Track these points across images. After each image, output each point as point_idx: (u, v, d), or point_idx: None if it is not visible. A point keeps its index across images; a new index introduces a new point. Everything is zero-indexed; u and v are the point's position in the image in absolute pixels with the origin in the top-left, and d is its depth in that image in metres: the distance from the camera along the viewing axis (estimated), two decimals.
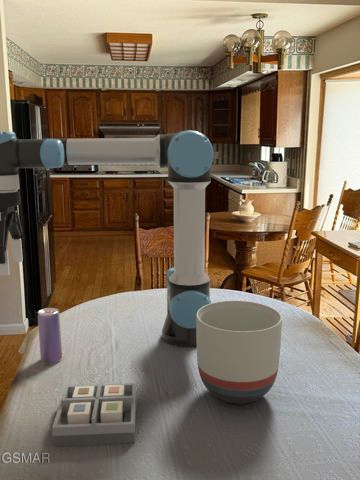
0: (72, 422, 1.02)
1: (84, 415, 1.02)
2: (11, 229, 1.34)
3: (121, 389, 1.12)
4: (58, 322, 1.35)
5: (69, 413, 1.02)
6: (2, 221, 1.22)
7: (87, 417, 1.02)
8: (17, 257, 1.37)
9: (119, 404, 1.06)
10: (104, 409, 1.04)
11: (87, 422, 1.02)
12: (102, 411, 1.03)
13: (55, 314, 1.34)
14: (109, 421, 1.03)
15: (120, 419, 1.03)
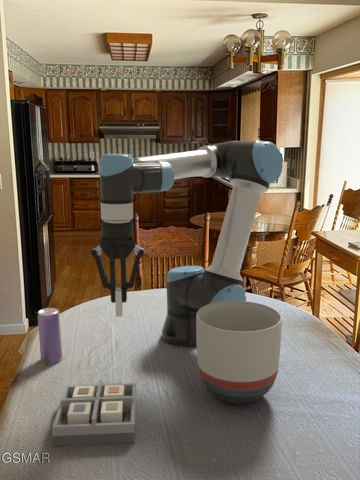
0: (72, 422, 1.02)
1: (84, 415, 1.02)
2: None
3: (121, 389, 1.12)
4: (58, 322, 1.35)
5: (69, 413, 1.02)
6: None
7: (87, 417, 1.02)
8: None
9: (119, 404, 1.06)
10: (104, 409, 1.04)
11: (87, 422, 1.02)
12: (102, 411, 1.03)
13: (55, 314, 1.34)
14: (109, 421, 1.03)
15: (120, 419, 1.03)
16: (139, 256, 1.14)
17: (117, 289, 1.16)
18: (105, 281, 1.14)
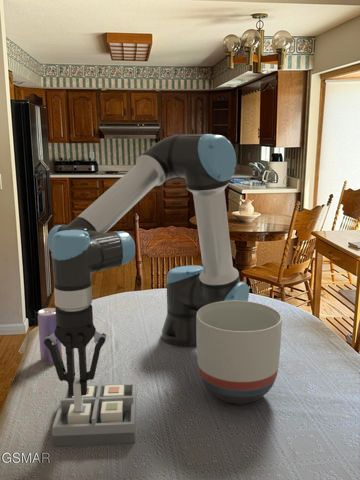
0: (72, 423, 1.02)
1: (85, 416, 1.02)
2: None
3: (121, 389, 1.12)
4: None
5: (69, 414, 1.02)
6: None
7: (87, 418, 1.02)
8: None
9: (119, 404, 1.06)
10: (104, 409, 1.04)
11: (87, 423, 1.03)
12: (102, 411, 1.03)
13: (55, 314, 1.34)
14: (109, 421, 1.03)
15: (120, 419, 1.03)
16: (99, 345, 1.00)
17: (76, 380, 1.02)
18: (61, 373, 1.01)
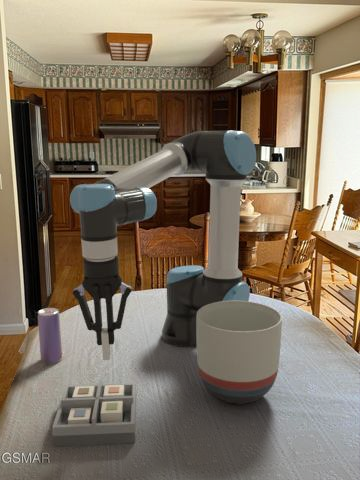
0: None
1: (85, 420, 1.02)
2: None
3: (121, 389, 1.12)
4: (58, 322, 1.35)
5: (69, 418, 1.02)
6: None
7: (87, 422, 1.02)
8: None
9: (119, 404, 1.06)
10: (104, 409, 1.04)
11: None
12: (102, 411, 1.03)
13: (55, 314, 1.34)
14: (109, 421, 1.03)
15: (120, 419, 1.03)
16: (126, 295, 1.04)
17: (103, 330, 1.07)
18: (90, 323, 1.05)
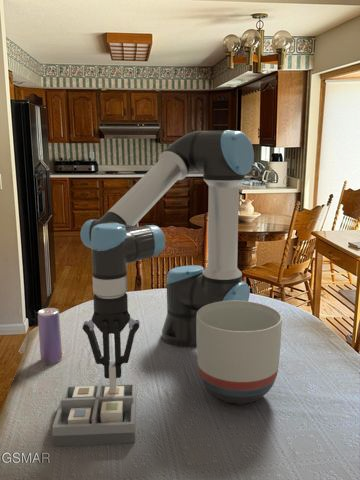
0: None
1: (85, 420, 1.02)
2: None
3: (121, 390, 1.12)
4: (58, 322, 1.35)
5: (69, 418, 1.02)
6: None
7: (87, 422, 1.02)
8: None
9: (119, 404, 1.06)
10: (104, 409, 1.04)
11: None
12: (102, 411, 1.03)
13: (55, 314, 1.34)
14: (109, 421, 1.03)
15: (120, 419, 1.03)
16: (134, 330, 1.07)
17: (111, 364, 1.10)
18: (98, 357, 1.08)
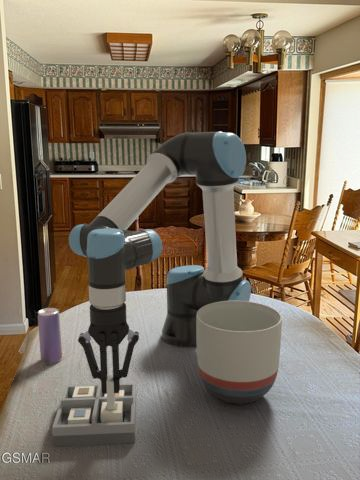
0: None
1: (85, 420, 1.02)
2: None
3: (121, 394, 1.12)
4: (58, 322, 1.35)
5: (69, 418, 1.02)
6: None
7: (87, 422, 1.02)
8: None
9: (119, 404, 1.06)
10: (104, 409, 1.04)
11: None
12: (102, 411, 1.03)
13: (55, 314, 1.34)
14: (109, 421, 1.03)
15: (120, 419, 1.03)
16: (133, 343, 1.00)
17: (109, 378, 1.03)
18: (95, 371, 1.01)
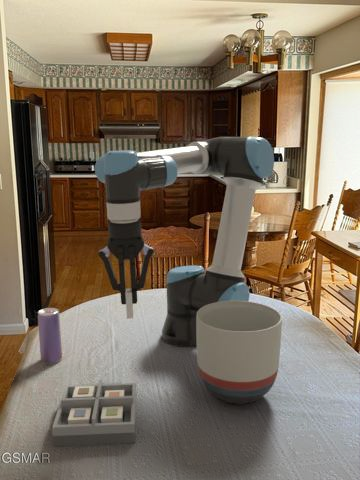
0: None
1: (85, 420, 1.02)
2: None
3: (121, 394, 1.12)
4: (58, 322, 1.35)
5: (69, 418, 1.02)
6: None
7: (87, 422, 1.02)
8: None
9: (120, 409, 1.06)
10: (104, 414, 1.04)
11: None
12: (102, 416, 1.03)
13: (55, 314, 1.34)
14: None
15: None
16: (149, 256, 1.10)
17: (127, 290, 1.13)
18: (114, 283, 1.11)
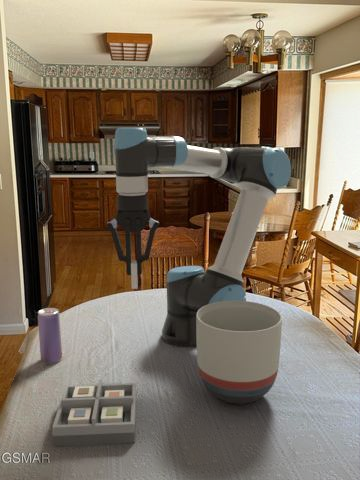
0: None
1: (85, 420, 1.02)
2: None
3: (121, 394, 1.12)
4: (58, 322, 1.35)
5: (69, 418, 1.02)
6: (111, 232, 1.16)
7: (87, 422, 1.02)
8: None
9: (120, 409, 1.06)
10: (104, 414, 1.04)
11: None
12: (102, 416, 1.03)
13: (55, 314, 1.34)
14: None
15: None
16: (154, 229, 1.16)
17: (132, 262, 1.18)
18: (121, 254, 1.17)
